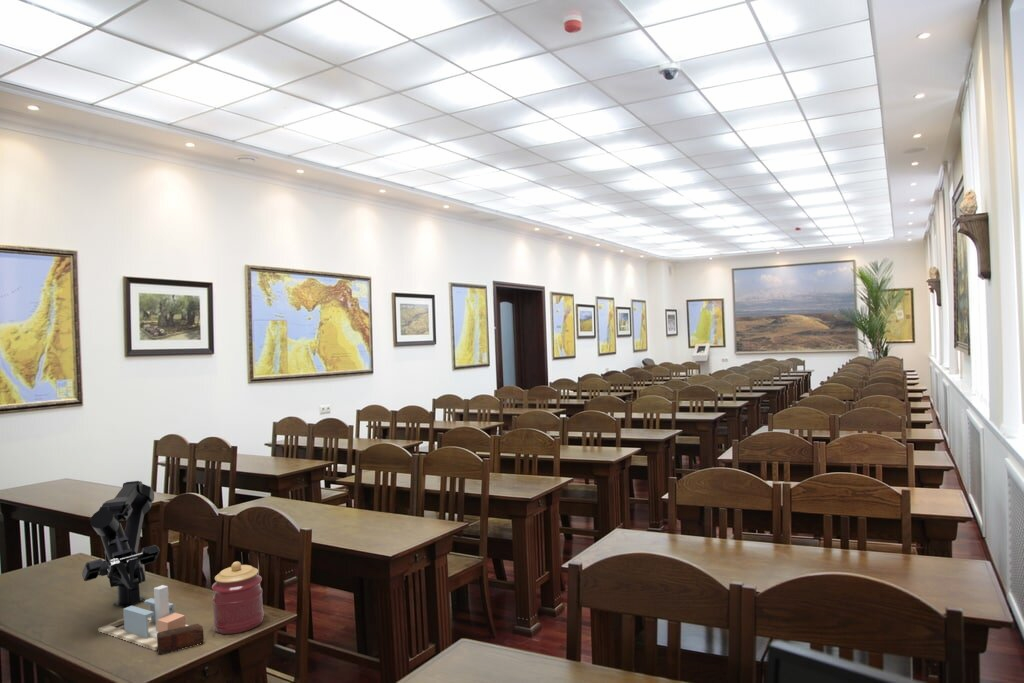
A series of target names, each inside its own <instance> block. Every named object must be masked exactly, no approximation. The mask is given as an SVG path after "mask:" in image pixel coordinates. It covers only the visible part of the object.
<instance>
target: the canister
mask: <svg viewBox="0 0 1024 683" xmlns="http://www.w3.org/2000/svg"><path fill="white" fill-rule="evenodd" d="M258 573H259V569H258V568H256V567H254V566H252V565H249V564H242V563H241V561H234V562H233V563H232V564H231V566H228V567H227V568H224V569H222V570H221V571H219V573H217V575H215V576H214V580H215V582H214V583H213V584H212V586H211V589H212V591H213V592H214V593H213V597H212V604H213V626H214V627H213V628H214V631H215V632H217V633H219V634H225V635H228V634H229V635H232V634H239V633H242V632H243V633H244V632H247V631H250V630H253V629H254V628H257V627H258V626H259V625H261V623H263V621H264V616H265V614H264V613H265V612H264V608H263V588H262V587H261V582H262V580H263V578H262V576H261V575H259V574H258Z"/></svg>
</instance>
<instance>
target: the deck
mask: <svg viewBox="0 0 1024 683" xmlns="http://www.w3.org/2000/svg"><path fill="white" fill-rule="evenodd" d="M186 626H189V624H186ZM155 630H156V622H154V621H151V616H150V617H148V634H149V633H150V632H153V631H155ZM97 631H99V632H98V633H100V632H102V633H101V634H103V633H105V634H104V635H106V634H108V635H107V636H109V635H111V636H110V637H112V636H114V637H113V638H115V637H118V638H120V639H119V640H121V639H123V640H122V641H124V640H126V641H125V642H127V641H129V642H128V643H130V642H132V643H131V644H133V643H135V644H134V645H136V644H138V645H137V646H139V645H141V646H140V647H142V646H143V647H142V648H145V647H146V649H148V648H149V649H148V650H151V649H152V651H154V650H156V651H158V650H157V649H158V646H157V639H156V638H153V637H150V636H149V638H147V639H146V638H143V637H140V636H137V635H134V634H131V633H128V632H125V630H124V617H123V618H121V619H118V620H116V621H113V622H111V623H107V624H106V625H103V626H99V628H97ZM118 638H117V639H118Z"/></svg>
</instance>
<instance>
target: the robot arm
mask: <svg viewBox="0 0 1024 683" xmlns="http://www.w3.org/2000/svg"><path fill="white" fill-rule="evenodd" d="M154 500H155V491H154V490H153V488H152V487H151V486H150V485H147V484H144V483H143V482H142V481H139V480H134V481H133V480H132V481H125V482H123V484H122V488H121V489H120V490H119V491H118V493H117V494H116V496H114V498H112V499H109V500H106V501H105V502H103V503H102V505H101V506H100V507H99V509H98V511H96V512H95V513H93V514H92V516H91V517H89V518H90V519H89V523H90V525H91V527H92V529H93V530H94V531H95V532H96V534H97V535H99V536H100V538H101V542H102V545H103V548H104V556H105V559H104V560H103V559H102V558H100V559H95V560H91V561H87V562H85V564H84V566H83V569H82V573H81V574H82V579H83V581H84V582H87V581H91V580H94V579H97V578H98V576H99V577H104V576H106V577H107V578H108V581H109V586H110V588H115V587H117V601H114V602H113V603H112V605H113V606H117V607H120V608H123V609H124V608H127V607H129V606H134V605H136V604H139V603H141V601H142V602H144V601H145V600H146V599H145V598H144V597H141V593H140V584H142V583H143V582H144V583H145V582H146V580H147V578H146V571H145V569H144V567H143V565H144V566H146V565H148V564H151V563H155V562H156V561H157V559H158V556H159V554H160V552H161V550H160V548H159V546H158V545H156V544H153V545H149V546H145V547H142V548H141V551H140V553H139V552H138V551H139V545H140V539H141V534H142V528H143V522H144V518H145V515H146V514H147V512H148V513H149V511H150V510H151V509H152V508H151V507H152V505H153V502H154ZM120 521H126V522H125V523H126V524H125V529H123V526H122V523H121V522H120ZM143 600H144V601H143ZM138 602H139V603H138ZM133 604H134V605H133Z"/></svg>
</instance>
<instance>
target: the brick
mask: <svg viewBox="0 0 1024 683" xmlns="http://www.w3.org/2000/svg"><path fill="white" fill-rule="evenodd" d="M188 625H189V624H188ZM203 627H204V626H202V625H201V624H200V623H193V624H190V625H189V626H185V627H180V628H177V629H171V630H166V631H162V632H159V633H157V646H158V650H157V653H158V655H163V653H164V654H168V653H172V652H171V651H173V652H176V651H175V650H177V651H179V650H178V649H181V650H183V649H182V648H185V647H188V648H191V647H190V646H192V647H194V646H193V645H196V646H198V645H197V644H200V643H202V644H203V642H204V636H205V634H204V628H203ZM200 645H201V644H200ZM185 649H186V648H185ZM167 652H168V653H167Z"/></svg>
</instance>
